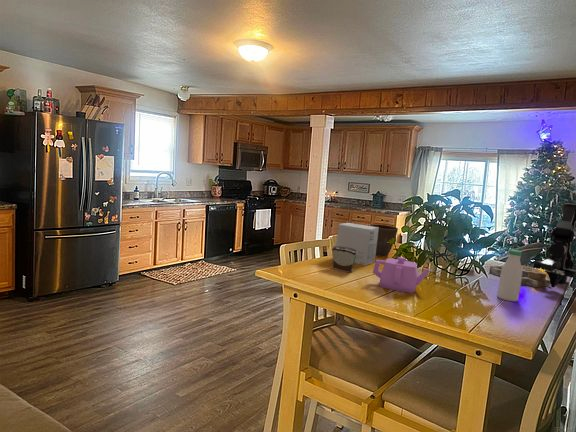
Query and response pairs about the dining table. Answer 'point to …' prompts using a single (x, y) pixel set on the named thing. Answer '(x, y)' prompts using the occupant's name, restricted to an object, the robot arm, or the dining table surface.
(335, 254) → the food container
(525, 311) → the dining table surface
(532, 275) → the block
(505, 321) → the dining table surface
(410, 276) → the teakettle
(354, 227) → the supplement box
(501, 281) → the milk bottle
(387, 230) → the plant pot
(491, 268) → the trap lane
